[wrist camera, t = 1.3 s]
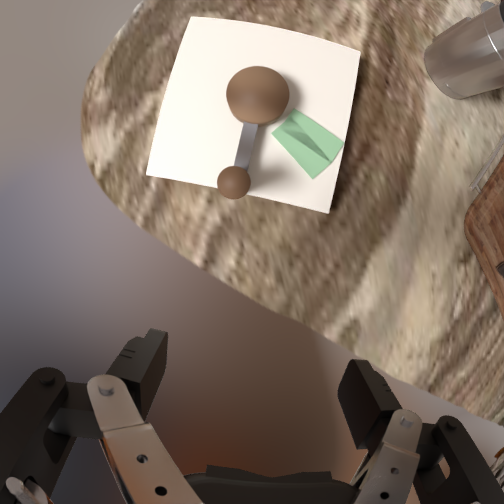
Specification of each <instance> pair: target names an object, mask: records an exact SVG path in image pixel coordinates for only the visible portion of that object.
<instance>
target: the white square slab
mask: <svg viewBox="0 0 504 504" xmlns="http://www.w3.org/2000/svg"><path fill="white" fill-rule="evenodd" d="M359 59H360V51H357V50H354V49H351V48H349V47H346V46H343V45H340V44H337V43H334V42H330V41H327V40H324V39H321V38H317V37H314V36H310V35H306V34H302V33H298V32H294V31H290V30H286V29H281V28H276V27H271V26H266V25H261V24H255V23H249V22H242V21H235V20H226V19H217V18H205V17H191V19H190V21H189V24H188V26H187V29H186V32H185V34H184V37H183V40H182V43H181V45H180V48H179V51H178V54H177V57H176V60H175V63H174V66H173V69H172V73H171V76H170V79H169V82H168V86H167V89H166V93H165V96H164V100H163V103H162V107H161V111H160V115H159V119H158V123H157V127H156V131H155V135H154V139H153V144H152V148H151V153H150V157H149V162H148V167H147V172H146V175H150V176H156V177H162V178H168V179H173V180H179V181H184V182H190V183H195V184H200V185H205V186H210V187H215V188H218V187H217V179H218V176H219V174H220V172H221V171H222V170H223V169H225V168H227V167H229V166H234V162H235V158H236V153H237V149H238V145H239V140H240V136H241V132H242V128H243V123H242V122H240V121H239V120H237V119H236V118H235V117H234V116H233V114H232V113H231V111H230V108H229V105H228V102H227V98H226V89H227V86H228V83H229V81H230V80H231V78H232V77H233V76H234V75H235V74H236V73H237V72H239V71H240V70H242V69H244V68H247V67H251V66H264V67H268V68H271V69H273V70H275V71H276V72H278V73H279V74H280V75H281V76H282V77H283V78H284V79H285V81H286V82H287V85H288V87H289V92H290V96H289V101H288V104H287V106H286V108H285V111H284V113H283V114H282V116H281V117H280V118H279V119H278V120H277V121H275V122H274V123H272V124H269V125H267V126H261V127H258V128H257V133H256V137H255V141H254V146H253V150H252V154H251V158H250V163H249V167H248V172H247V173H248V174H249V176H250V179H251V186H250V189H249V191H248V192H247V194H248V195H253V196H257V197H262V198H266V199H271V200H275V201H279V202H284V203H288V204H292V205H296V206H300V207H304V208H308V209H312V210H316V211H320V212H324V213H329V209H330V205H331V201H332V197H333V193H334V189H335V184H336V180H337V176H338V171H339V167H340V162H341V158H342V153H343V148H344V143H345V139H346V134H347V129H348V123H349V118H350V113H351V107H352V102H353V96H354V90H355V84H356V78H357V72H358V65H359Z"/></svg>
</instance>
